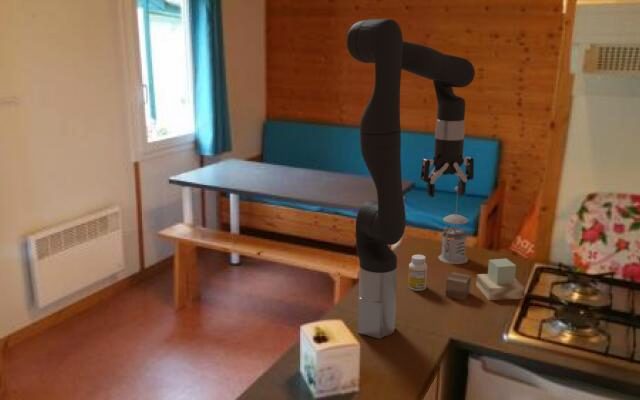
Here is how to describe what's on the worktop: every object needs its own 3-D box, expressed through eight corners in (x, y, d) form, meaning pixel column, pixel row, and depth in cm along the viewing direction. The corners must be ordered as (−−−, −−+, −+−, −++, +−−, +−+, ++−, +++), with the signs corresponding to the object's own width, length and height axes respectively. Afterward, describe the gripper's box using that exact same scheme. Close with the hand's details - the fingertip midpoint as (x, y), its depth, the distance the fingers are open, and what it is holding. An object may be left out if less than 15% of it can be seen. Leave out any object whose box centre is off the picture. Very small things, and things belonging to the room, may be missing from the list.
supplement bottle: (413, 282, 173) (415, 252, 170) (429, 286, 170) (431, 256, 167) (404, 287, 169) (405, 257, 166) (420, 292, 166) (422, 261, 163)
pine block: (488, 301, 161) (489, 288, 160) (476, 286, 171) (477, 274, 170) (522, 299, 162) (523, 287, 161) (508, 285, 171) (509, 273, 170)
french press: (473, 258, 192) (478, 186, 185) (455, 268, 183) (460, 193, 177) (447, 251, 198) (452, 181, 191) (429, 260, 190) (433, 187, 183)
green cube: (496, 284, 162) (498, 267, 161) (487, 277, 167) (489, 259, 166) (514, 283, 163) (516, 265, 162) (504, 275, 168) (506, 258, 167)
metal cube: (464, 300, 161) (465, 282, 159) (445, 296, 163) (446, 278, 162) (469, 293, 165) (471, 276, 164) (451, 289, 168) (452, 272, 166)
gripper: (429, 140, 145) (426, 201, 150) (481, 138, 148) (476, 197, 153) (418, 135, 152) (416, 193, 157) (468, 133, 155) (464, 190, 160)
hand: (446, 195), depth 155 cm, fingers open, 8 cm apart
